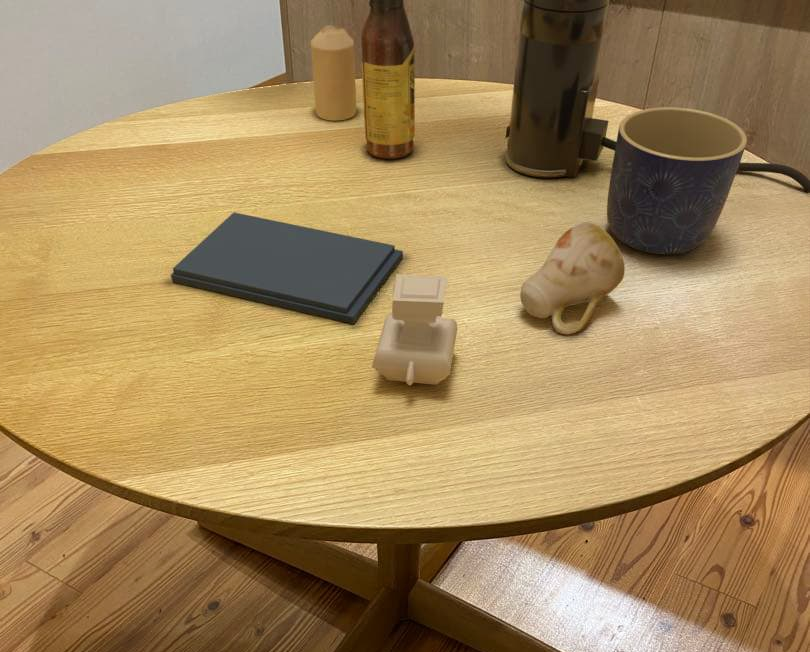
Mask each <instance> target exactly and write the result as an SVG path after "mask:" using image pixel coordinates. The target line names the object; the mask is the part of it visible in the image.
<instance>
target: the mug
mask: <svg viewBox="0 0 810 652" xmlns="http://www.w3.org/2000/svg"><path fill="white" fill-rule="evenodd" d="M625 268H626V267H625V261H624V257H623V254H622V253H621V249H620V248H619V246H618V244H617V243H616V242H615V240H614V239H613V238H612V236H611V235H610V234H609V232H607V231H606V230H605V229H604V228H602V227H601V226H599V225H598V224H595V223H593V222H589V221H585V222H584V221H583V222H581V223H578V224H576V225H574V226H572V227H570V228H569V229H568V230H566V231H565V232H564V233H563V234H562V235H561V236H560V237H559V238H558V240H557V241H556V243H555V244H554V246H553V248H552V249H551V251H550V253H549V255H548V256H547V258H546V260H545V261H544V263H543V265H542V266H541V267H540V268H539V269H538V270H537V271H536V272H535V273H533V275H532V276H530V277H528V278H527V279H525V280H524V281H523V283H522V285H521V287H520V291H519V297H520V302H521V304H522V307H523V308H524V309H525V311H526V312H527V313H528V314H529V315H530V316H532V317H534V318H538V319H546V318H548V317H550V316H551V320H552V326H553V329H554V330H555V331H556V333H559V334H562V335H571V334H575V333H577V332H579V331H581V330H582V329H584V328H585V326H587V324H588V323H589V321H590V318H591V317H592V314H593V312H594V311H595V309H596V308H597V307H598V305H599V304H600V303H601V301H603V300H604V299H605V297H606V296H607V295H609V294H610V293H612V292H613V291H614V290H615V289H616V288H617V287H618V286H619V285H620V284H621V283H622V281H623V280H624V276H625V272H626V269H625ZM584 303H588V304H587V307H586V309H585V312H584V313H583V315H582V317H581V319H580V320H579V322H577V323H576V324H571V325H567V324H565V323H564V322H563V321H562V314H563V313H564V311H565V308H566V307H569V306H574V305H580V304H584Z"/></svg>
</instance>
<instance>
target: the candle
mask: <svg viewBox="0 0 810 652" xmlns="http://www.w3.org/2000/svg"><path fill="white" fill-rule="evenodd" d="M310 51H311V52H310V53H311V65H312V77H313V78H312V81H313V94H314V104H315V105H314V106H315V114H316V116H317V117H318V118H320V119H323V120H325V121H326V120H327V121H335V122H336V121H344V120H345V121H346V120H349V119H351V118H353V117H354V116H356V114H357V89H356V87H357V86H356V62H355V61H356V60H355V59H356V58H355V40H354V38H352V37H351V36H350V34H349V33H348V31H346V30H345V27H341V28H337V27H335V26H334V25H331V24H328V25H325V26H323V27H322V29H320V30H319V32H318V33H317V34H315V35H314V37H313V38H312V39H311V41H310Z"/></svg>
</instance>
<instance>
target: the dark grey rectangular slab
mask: <svg viewBox="0 0 810 652" xmlns="http://www.w3.org/2000/svg"><path fill="white" fill-rule="evenodd" d="M403 257H404V251H403V250H399V249H396V245H395V244H391V243H384V242H380V241H375V240H371V239H366V238H359V237H356V236H352V235H345V234H341V233H336V232H331V231H328V230H327V231H326V230H323V229H322V230H321V229H315V228H312V227H307V226H302V225H298V224H292V223H288V222H284V221H278V220H273V219H268V218H264V217H259V216H254V215H248V214H245V213H239V212H232V213H231V214H230V215H229V216H228V217H227V218H226V219H225V220H224V221H222V222H221V223H220V224H219V225H218V226H217V227H216V228H215V229H213V231H211V233H209V234H208V235H207V236H206V237H205V238H204V239H203V240H202V241H201V242H200V243H198V245H196V246H195V247H194V248H193V249H192V250H191V251H190V252H189V253H188V254H186V255H185V256H184V257H183V258H182V259H181V260H180V261H179V262H178V263H177V264H176V265H175V266H174V267H173V268H172V273H171V274H170V277H171V281H172V283H176V284H180V285H184V286H189V287H193V288H197V289H203V290H206V291H211V292H215V293H218V294H219V293H220V294H223V295H228V296H232V297H236V298H241V299H244V300H248V301H253V302H258V303H262V304H266V305H271V306H274V307H278V308H283V309H286V310H287V309H288V310H292V311H296V312H301V313H305V314H309V315H313V316H318V317H322V318H326V319H330V320H333V321H334V320H335V321H338V322H342V323H347V324H352V325H354V324H355V323H356V322H357V320H358V319H359V317H360V316H361V315H362V313H363V312H364V311H365V310H366V308H367V307H368V305H369V304H370V302H371V301H372V300H373V299H374V297H375V296H376V295H377V293H378V292H379V290H380V289H381V288H382V287H383V285H384V284H385V282H386V281H387V280H388V278H389V277H390V276H391V274H392V273H393V272H394V270H395V269H396V268H397V266H398V265H399V264H400V262H401V261H402V259H403Z"/></svg>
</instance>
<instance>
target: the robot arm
mask: <svg viewBox="0 0 810 652" xmlns="http://www.w3.org/2000/svg"><path fill="white" fill-rule="evenodd" d="M609 3H610V0H522V3H521V12H520V22H519V32H518V41H517V49H516V50H517V51H516V60H515V72H514V79H513V88H512V89H513V90H512V100H511V108H510V109H511V110H510V119H509V125H508V126H507V127H506V130H505V139H507V145H506V146H507V148H506V151H505V152H506V153H505V162H506V164H507V165H508V166H509V167H510V168H511V169H513V170H514V171H516V172H518V173H519V174H523V175H526V176H531V177H537V178H560V177H561V178H562V177H569V178H575V177H576V175H577V173H578V172H579V170H580V169H581V167H582V166H583V163H584V161H585V160H587V161H594V162H598V159H599V157H600V156H601V154H602V151H603V149H604V148H607V149H609V150H611V151H614V152H615V147H616V142H617V140H613V139H611V138H609V137H607V133H608V128H609V127H608V126H609V123H610V122H609V120H606V119H599V118H594V117H593V116H594V110H595V105H596V98H597V92H598V87H599V81H600V74H599V73H598V68H599V62H600V56H601V51H602V45H603V39H604V32H605V29H606V28H605V27H606V21H607V17H608V16H607V15H608V10H609V5H610V4H609ZM737 172H751V173H752V172H756V173H771V174H772V173H773V174H778V175H783V176H786V177H789V178H791V179H793V180H794V181H796V182H797V184H799V185H800V186H801V187H802V188H803V190H804V191H805V193H807V194H809V195H810V179H809V178H808V177H807V176H806V175H805V174H804V173H802V172H801V171H799V170H798V169H796V168H794V167H791V166H788V165H785V164H784V165H783V164H779V163H770V162H769V163H767V162H740V164H739V167H738V169H737Z"/></svg>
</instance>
